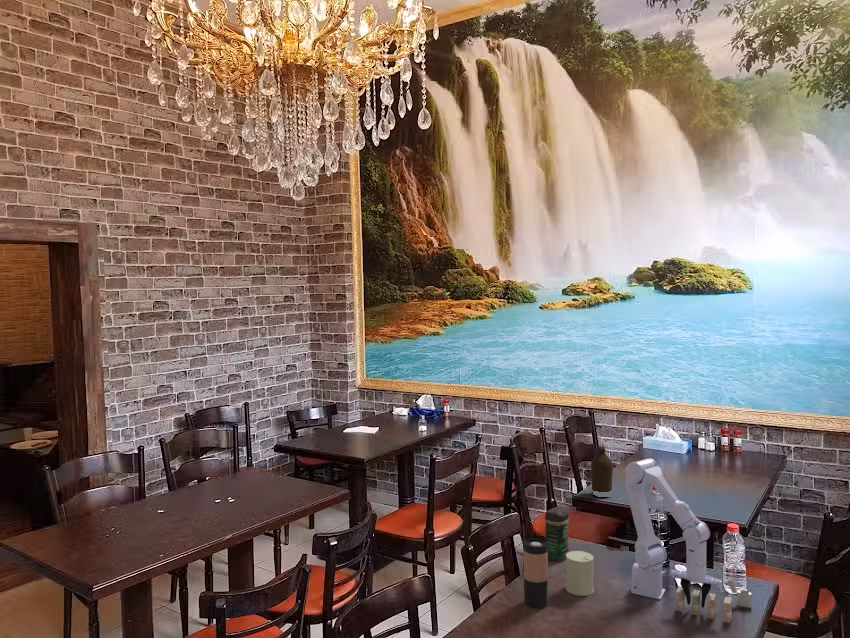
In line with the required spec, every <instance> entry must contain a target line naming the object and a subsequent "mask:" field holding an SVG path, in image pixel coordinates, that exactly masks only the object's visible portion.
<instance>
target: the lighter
mask: <svg viewBox="0 0 850 638" xmlns="http://www.w3.org/2000/svg"><path fill="white" fill-rule="evenodd" d="M726 583H727V584H728V586H729V588H730V591H731V592H732V594H735V593H736V606H737V607H742V608H750V609H752V592H750V591H749V589H746V588H740V590H739V589H738V590H737V588H736V585H735V583H734V582H733V580H732V578H730V577H729V578H726Z"/></svg>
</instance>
